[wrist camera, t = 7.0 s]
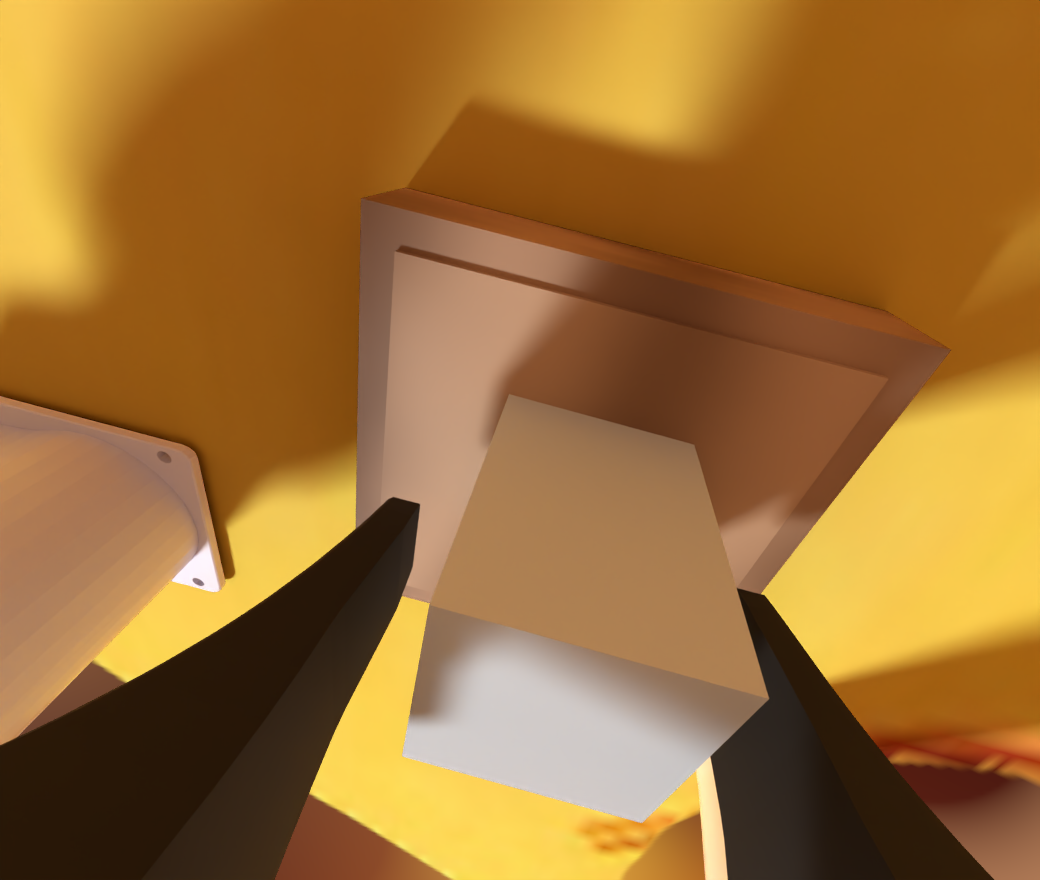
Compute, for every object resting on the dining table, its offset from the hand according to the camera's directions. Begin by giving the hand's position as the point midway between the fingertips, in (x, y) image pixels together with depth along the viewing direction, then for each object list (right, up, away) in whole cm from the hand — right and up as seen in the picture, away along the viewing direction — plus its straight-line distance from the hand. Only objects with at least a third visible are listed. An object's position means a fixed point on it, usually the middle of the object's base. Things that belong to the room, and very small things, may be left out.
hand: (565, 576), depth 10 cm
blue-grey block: (0, +2, +2) cm, 3 cm away
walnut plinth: (+1, +3, +4) cm, 5 cm away
